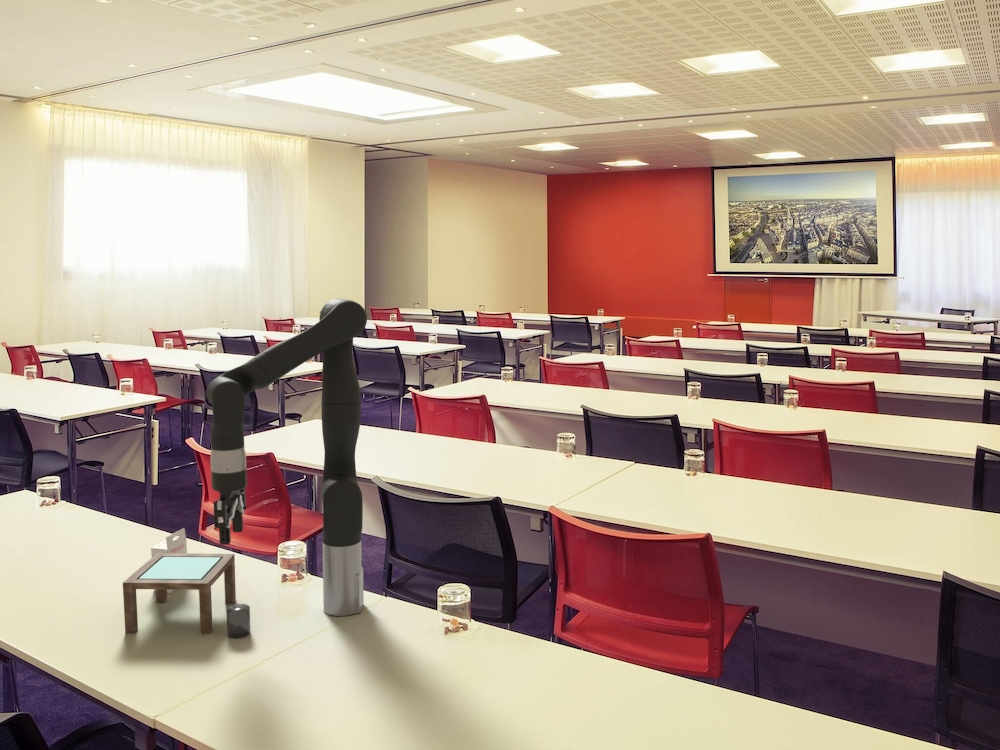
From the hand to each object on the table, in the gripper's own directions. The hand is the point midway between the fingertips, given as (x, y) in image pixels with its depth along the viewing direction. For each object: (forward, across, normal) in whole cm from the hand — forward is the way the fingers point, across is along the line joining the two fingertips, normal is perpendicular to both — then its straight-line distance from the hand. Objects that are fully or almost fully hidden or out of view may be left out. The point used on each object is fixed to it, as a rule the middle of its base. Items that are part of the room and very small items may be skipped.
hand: (231, 537), depth 184 cm
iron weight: (+22, -1, -1) cm, 22 cm away
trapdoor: (+11, +8, +15) cm, 20 cm away
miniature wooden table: (+22, +8, +15) cm, 28 cm away
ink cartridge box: (+22, +26, +25) cm, 42 cm away
